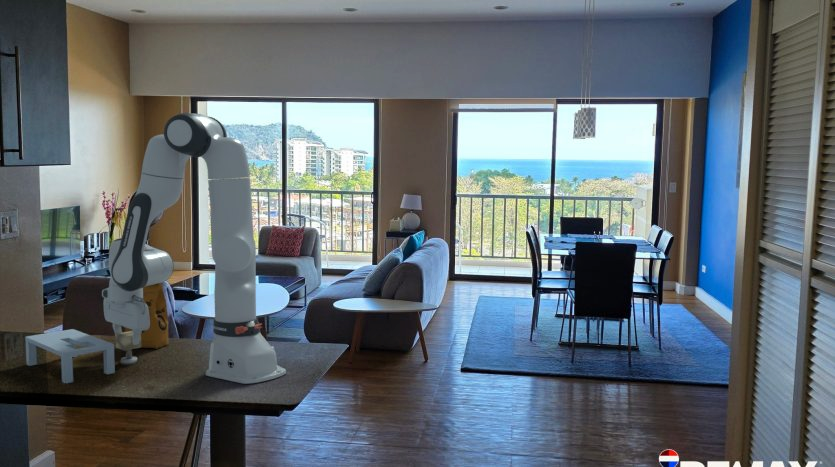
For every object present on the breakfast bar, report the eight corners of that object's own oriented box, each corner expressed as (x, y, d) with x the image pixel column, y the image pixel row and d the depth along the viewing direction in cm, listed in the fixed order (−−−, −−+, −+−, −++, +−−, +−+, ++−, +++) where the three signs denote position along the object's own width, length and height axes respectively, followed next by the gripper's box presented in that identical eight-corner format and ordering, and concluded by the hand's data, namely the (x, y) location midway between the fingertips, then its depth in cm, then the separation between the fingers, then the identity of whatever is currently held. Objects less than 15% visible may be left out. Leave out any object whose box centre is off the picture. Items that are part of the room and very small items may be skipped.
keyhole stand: (114, 372, 190) (113, 344, 190) (65, 383, 181) (64, 353, 180) (73, 355, 207) (72, 329, 207) (26, 364, 198) (25, 336, 197)
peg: (141, 362, 201) (140, 333, 200) (124, 365, 197) (123, 336, 196) (133, 359, 204) (132, 330, 203) (116, 362, 200) (115, 333, 200)
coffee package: (154, 351, 213) (152, 279, 211) (120, 348, 216) (117, 277, 214) (174, 343, 222) (172, 275, 220) (141, 340, 226) (139, 273, 224)
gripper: (155, 297, 194) (155, 345, 196) (120, 287, 208) (121, 333, 209) (133, 299, 190) (134, 349, 191) (99, 290, 203) (99, 337, 204)
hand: (127, 341), depth 200 cm, fingers open, 8 cm apart
